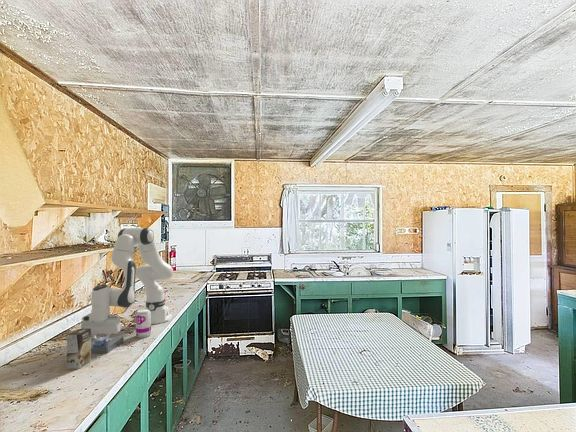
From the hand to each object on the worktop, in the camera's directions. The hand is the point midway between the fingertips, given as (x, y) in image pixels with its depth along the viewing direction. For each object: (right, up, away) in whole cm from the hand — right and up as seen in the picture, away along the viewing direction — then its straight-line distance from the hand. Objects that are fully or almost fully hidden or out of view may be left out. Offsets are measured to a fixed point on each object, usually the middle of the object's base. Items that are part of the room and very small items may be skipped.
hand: (101, 341), depth 182 cm
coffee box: (+1, -4, -20) cm, 20 cm away
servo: (0, -4, +1) cm, 4 cm away
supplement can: (+15, -4, +20) cm, 25 cm away
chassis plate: (0, -4, +2) cm, 5 cm away
